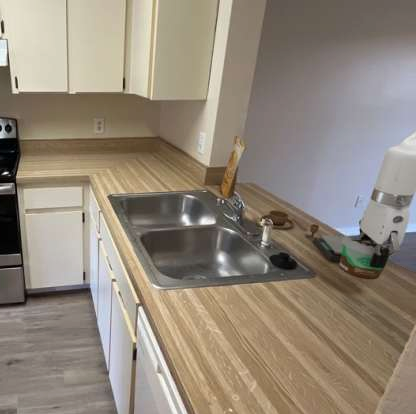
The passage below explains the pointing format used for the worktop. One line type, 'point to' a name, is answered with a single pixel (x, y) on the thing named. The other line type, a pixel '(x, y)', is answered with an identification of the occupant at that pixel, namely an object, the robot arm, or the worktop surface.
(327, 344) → the worktop surface
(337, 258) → the scale
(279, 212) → the place setting
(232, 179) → the pancake mix bag
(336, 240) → the pan
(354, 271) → the food container
